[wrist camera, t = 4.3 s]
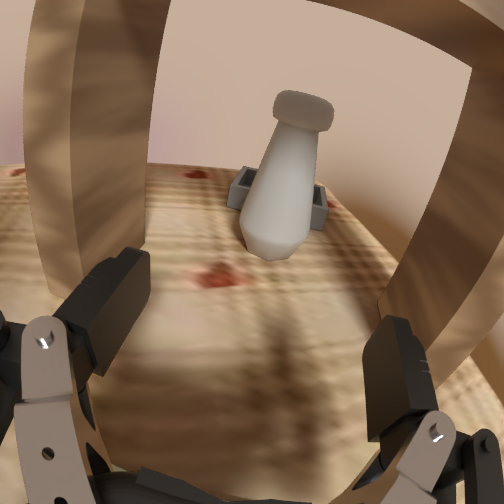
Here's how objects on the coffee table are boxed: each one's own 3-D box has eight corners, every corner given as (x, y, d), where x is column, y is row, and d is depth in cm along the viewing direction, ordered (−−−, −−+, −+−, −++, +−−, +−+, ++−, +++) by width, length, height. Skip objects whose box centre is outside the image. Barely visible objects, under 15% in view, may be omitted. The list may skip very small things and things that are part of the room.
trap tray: (226, 206, 30) (230, 185, 29) (239, 184, 36) (243, 165, 35) (321, 231, 30) (328, 210, 29) (318, 204, 36) (324, 186, 35)
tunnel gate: (50, 292, 16) (61, -75, 4) (108, 232, 23) (137, -43, 10) (434, 390, 15) (594, 69, 3) (412, 310, 22) (515, 58, 10)
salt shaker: (273, 225, 29) (307, 92, 22) (313, 258, 26) (363, 111, 18) (221, 235, 26) (251, 81, 19) (261, 275, 22) (309, 96, 15)
